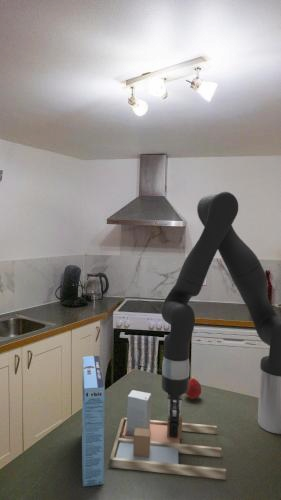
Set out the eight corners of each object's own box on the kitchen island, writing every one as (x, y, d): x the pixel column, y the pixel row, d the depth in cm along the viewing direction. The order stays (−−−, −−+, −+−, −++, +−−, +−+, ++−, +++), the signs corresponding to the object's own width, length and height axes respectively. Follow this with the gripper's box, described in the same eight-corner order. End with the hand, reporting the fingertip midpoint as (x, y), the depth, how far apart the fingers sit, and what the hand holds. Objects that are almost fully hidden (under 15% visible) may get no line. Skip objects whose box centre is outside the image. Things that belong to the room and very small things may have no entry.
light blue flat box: (103, 485, 75) (105, 387, 73) (80, 487, 74) (82, 388, 73) (99, 433, 94) (101, 355, 93) (81, 434, 93) (82, 355, 92)
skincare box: (150, 433, 94) (152, 393, 93) (145, 442, 90) (148, 400, 89) (130, 428, 96) (132, 389, 95) (125, 437, 92) (127, 396, 91)
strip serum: (181, 430, 96) (181, 408, 95) (181, 449, 87) (182, 425, 87) (126, 425, 97) (127, 403, 97) (122, 443, 89) (122, 420, 89)
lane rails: (216, 432, 96) (216, 425, 96) (225, 479, 77) (226, 471, 77) (121, 423, 99) (122, 417, 99) (109, 467, 80) (109, 459, 80)
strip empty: (177, 452, 86) (178, 427, 86) (178, 470, 80) (179, 444, 79) (119, 446, 88) (120, 422, 88) (115, 463, 81) (115, 437, 81)
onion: (200, 395, 117) (201, 373, 117) (201, 404, 112) (202, 381, 111) (183, 394, 118) (184, 372, 117) (184, 402, 112) (185, 379, 112)
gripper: (190, 385, 83) (187, 450, 84) (188, 363, 97) (186, 419, 98) (160, 382, 84) (158, 447, 85) (163, 361, 98) (161, 417, 99)
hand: (173, 432), depth 92 cm, fingers closed on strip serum, 3 cm apart
